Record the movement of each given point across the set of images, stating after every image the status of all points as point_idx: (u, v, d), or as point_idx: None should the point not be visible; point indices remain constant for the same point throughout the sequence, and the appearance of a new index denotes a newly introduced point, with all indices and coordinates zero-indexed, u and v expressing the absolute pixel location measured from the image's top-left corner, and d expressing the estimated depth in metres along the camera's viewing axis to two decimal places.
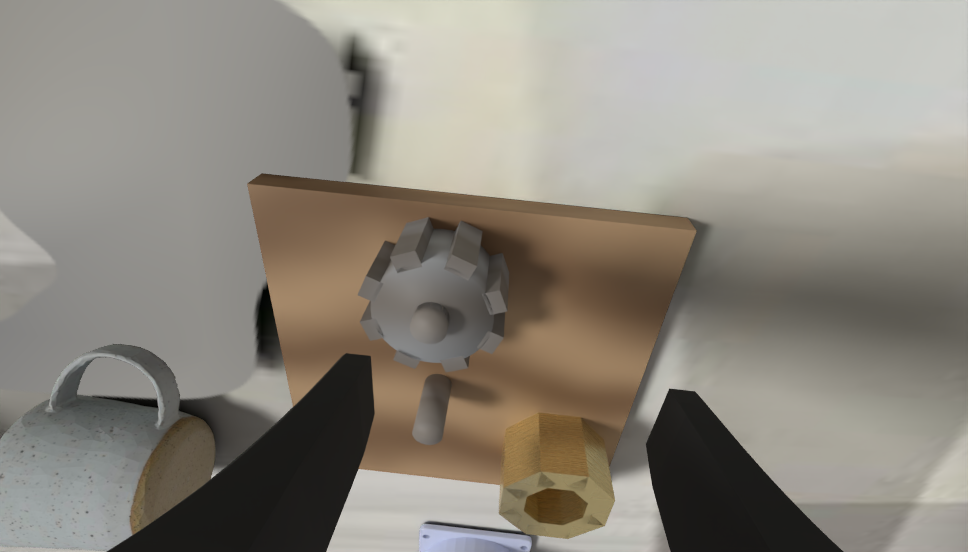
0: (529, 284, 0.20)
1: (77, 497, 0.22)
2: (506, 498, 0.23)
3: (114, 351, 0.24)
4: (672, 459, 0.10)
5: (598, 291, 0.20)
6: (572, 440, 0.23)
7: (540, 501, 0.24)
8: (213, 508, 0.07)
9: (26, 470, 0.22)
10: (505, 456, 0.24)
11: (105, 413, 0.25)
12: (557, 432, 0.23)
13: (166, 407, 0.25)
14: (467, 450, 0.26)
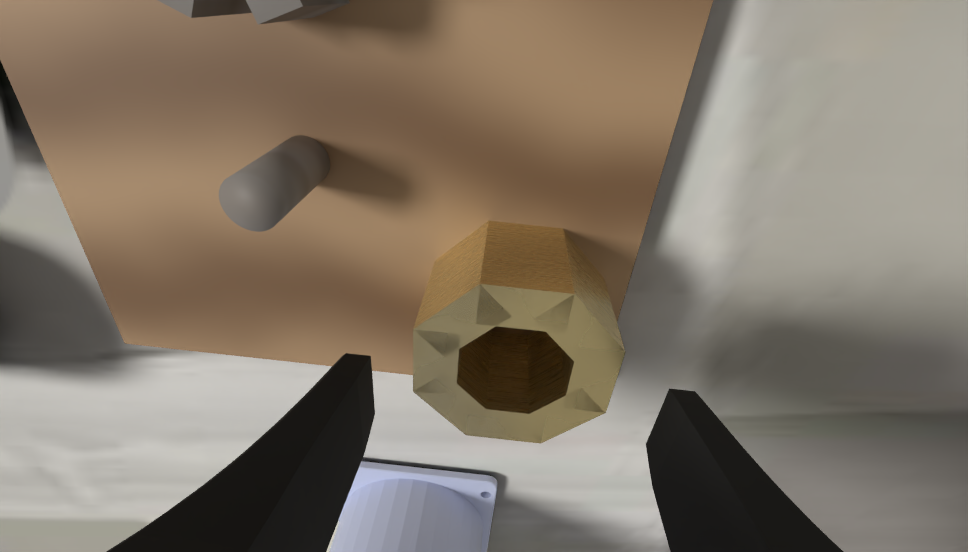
0: None
1: None
2: (421, 354, 0.12)
3: None
4: (672, 459, 0.10)
5: None
6: (546, 251, 0.12)
7: (493, 380, 0.14)
8: (213, 508, 0.07)
9: None
10: (426, 290, 0.13)
11: None
12: (519, 241, 0.13)
13: None
14: (376, 308, 0.16)
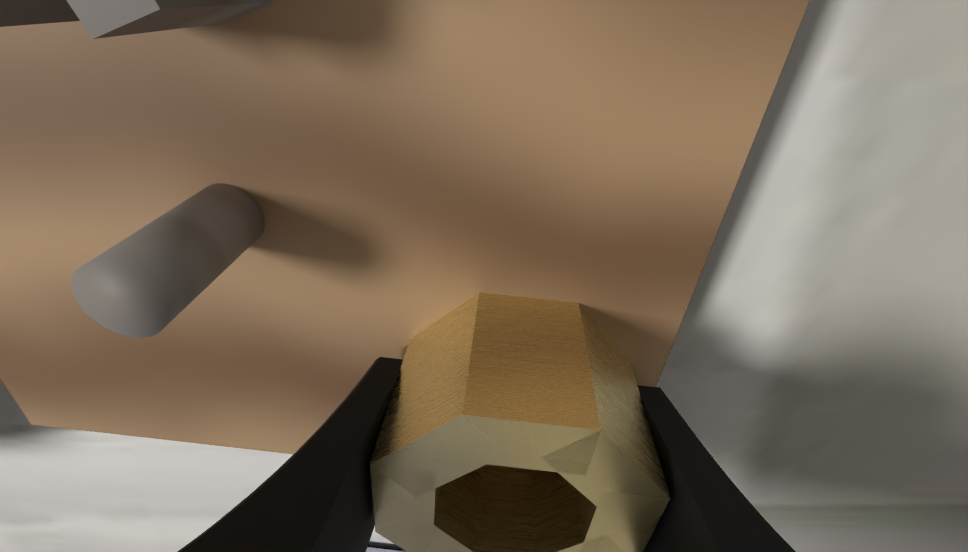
0: None
1: None
2: (383, 493, 0.09)
3: None
4: None
5: None
6: (556, 345, 0.09)
7: (485, 501, 0.11)
8: (268, 515, 0.07)
9: None
10: (394, 391, 0.10)
11: None
12: (520, 329, 0.09)
13: None
14: (338, 392, 0.12)
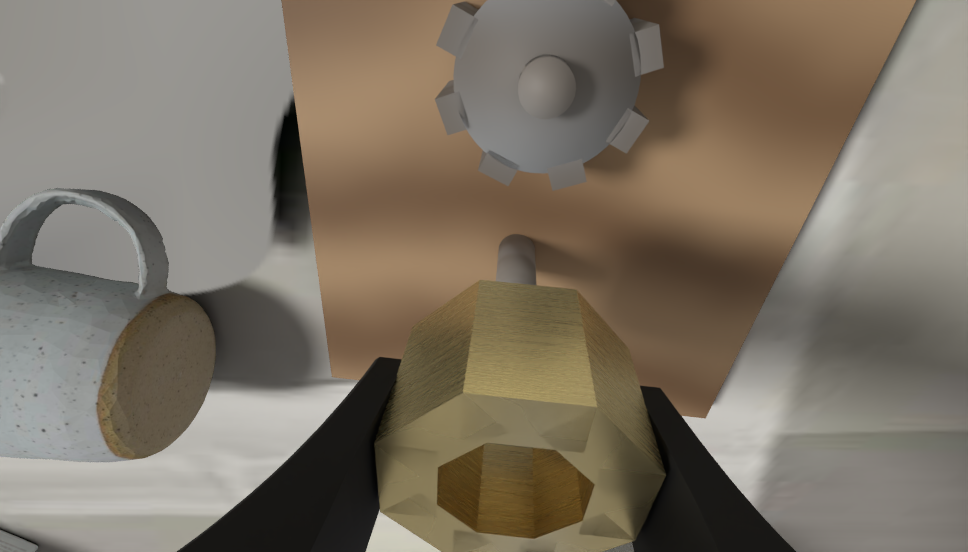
0: (665, 74, 0.14)
1: (22, 374, 0.16)
2: (387, 472, 0.09)
3: (79, 190, 0.18)
4: None
5: (764, 83, 0.14)
6: (555, 329, 0.09)
7: (487, 484, 0.11)
8: (267, 515, 0.07)
9: None
10: (398, 376, 0.10)
11: (67, 279, 0.18)
12: (519, 314, 0.10)
13: (149, 270, 0.18)
14: None
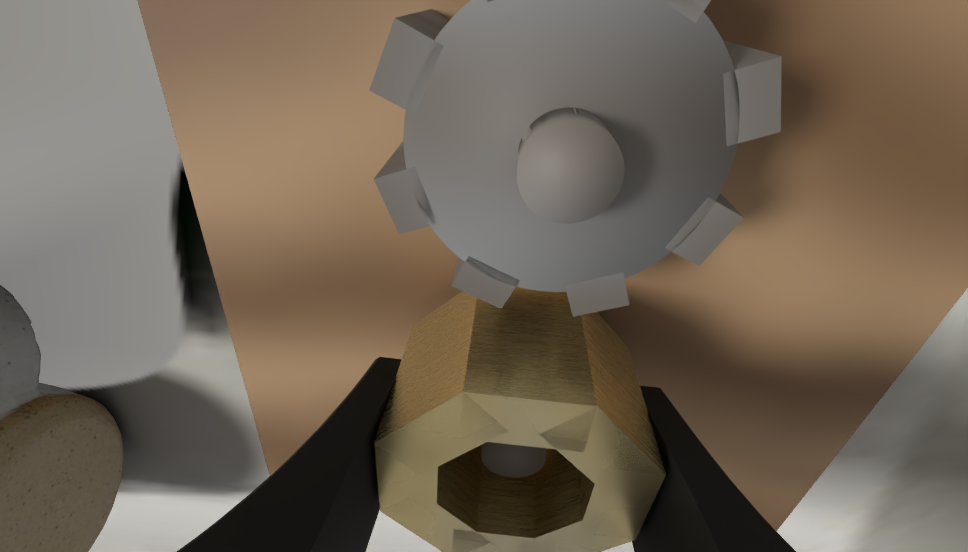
0: None
1: None
2: (387, 472, 0.09)
3: None
4: None
5: (905, 138, 0.09)
6: (555, 328, 0.09)
7: (486, 483, 0.11)
8: (267, 515, 0.07)
9: None
10: (398, 375, 0.10)
11: None
12: (519, 313, 0.10)
13: (2, 373, 0.13)
14: None
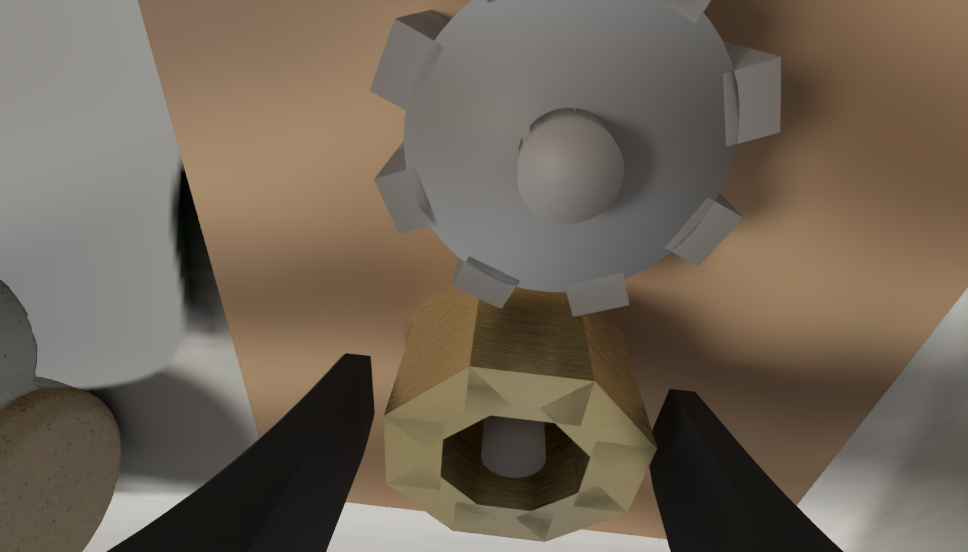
0: None
1: None
2: (395, 444, 0.09)
3: None
4: (672, 459, 0.10)
5: (905, 139, 0.09)
6: (555, 312, 0.10)
7: None
8: (213, 509, 0.07)
9: None
10: (404, 355, 0.10)
11: None
12: (521, 297, 0.10)
13: None
14: None
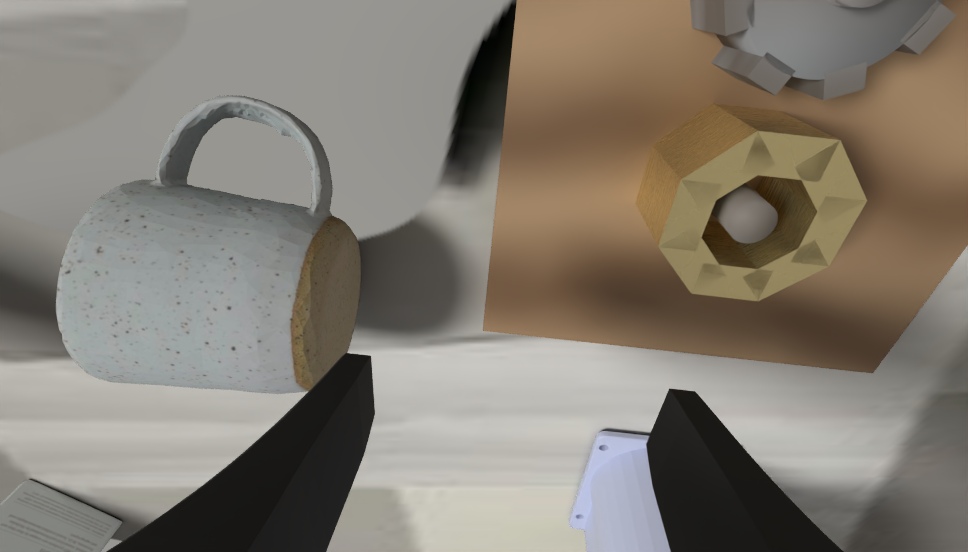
0: None
1: (214, 285, 0.14)
2: (679, 207, 0.14)
3: (251, 98, 0.17)
4: (672, 459, 0.10)
5: None
6: (784, 120, 0.14)
7: (711, 247, 0.16)
8: (213, 509, 0.07)
9: (135, 245, 0.14)
10: (666, 160, 0.15)
11: (233, 197, 0.17)
12: (755, 114, 0.14)
13: (323, 186, 0.17)
14: (717, 302, 0.20)
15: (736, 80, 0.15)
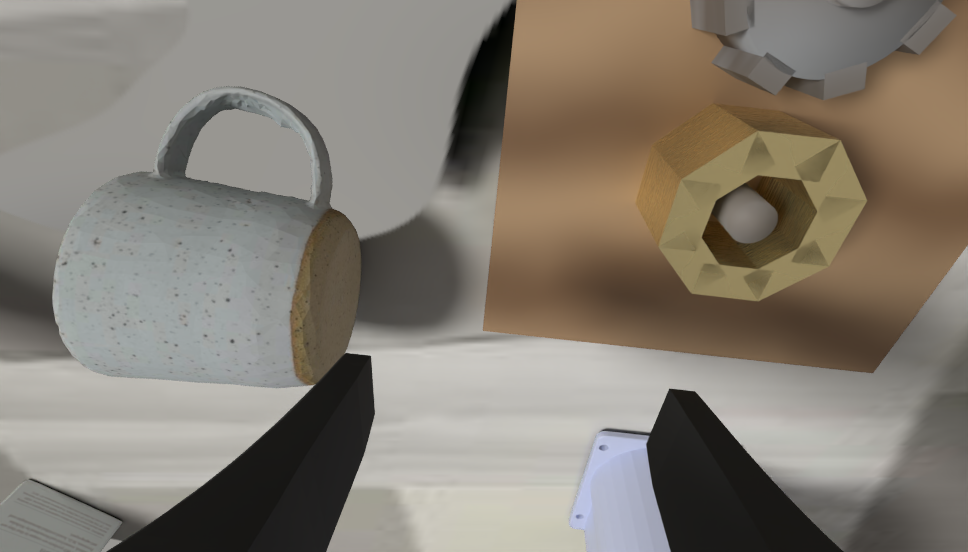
0: None
1: (213, 277, 0.14)
2: (679, 207, 0.14)
3: (251, 89, 0.16)
4: (672, 459, 0.10)
5: None
6: (784, 120, 0.14)
7: (711, 247, 0.16)
8: (213, 508, 0.07)
9: (133, 235, 0.14)
10: (666, 160, 0.15)
11: (232, 189, 0.17)
12: (755, 114, 0.14)
13: (322, 178, 0.17)
14: (717, 302, 0.20)
15: (736, 80, 0.15)
